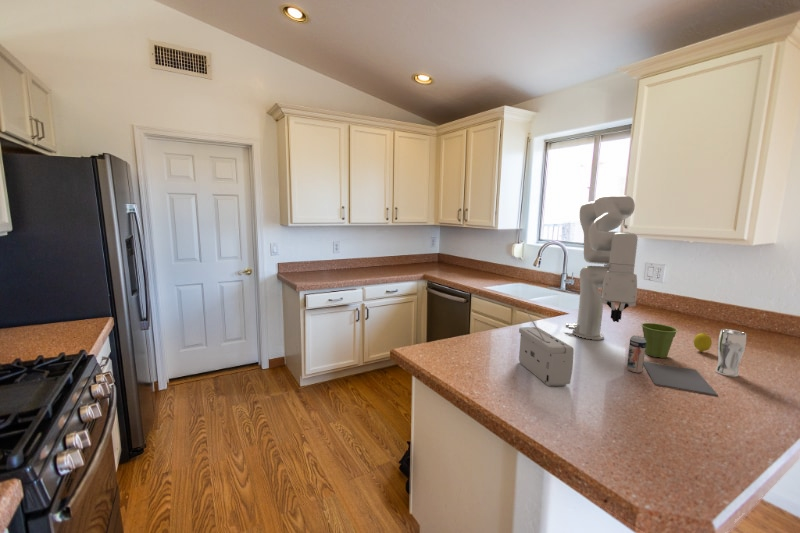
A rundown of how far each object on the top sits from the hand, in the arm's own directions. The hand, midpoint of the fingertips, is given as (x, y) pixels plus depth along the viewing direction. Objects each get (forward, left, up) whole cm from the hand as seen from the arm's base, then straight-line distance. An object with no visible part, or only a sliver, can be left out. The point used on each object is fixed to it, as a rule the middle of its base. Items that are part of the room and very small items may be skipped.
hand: (615, 320), depth 126 cm
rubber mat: (+19, +1, -17) cm, 26 cm away
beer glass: (+37, +14, -17) cm, 43 cm away
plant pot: (+18, +23, -17) cm, 34 cm away
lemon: (+36, +36, -17) cm, 53 cm away
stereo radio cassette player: (-22, -17, -17) cm, 33 cm away
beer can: (+7, +1, -17) cm, 19 cm away
